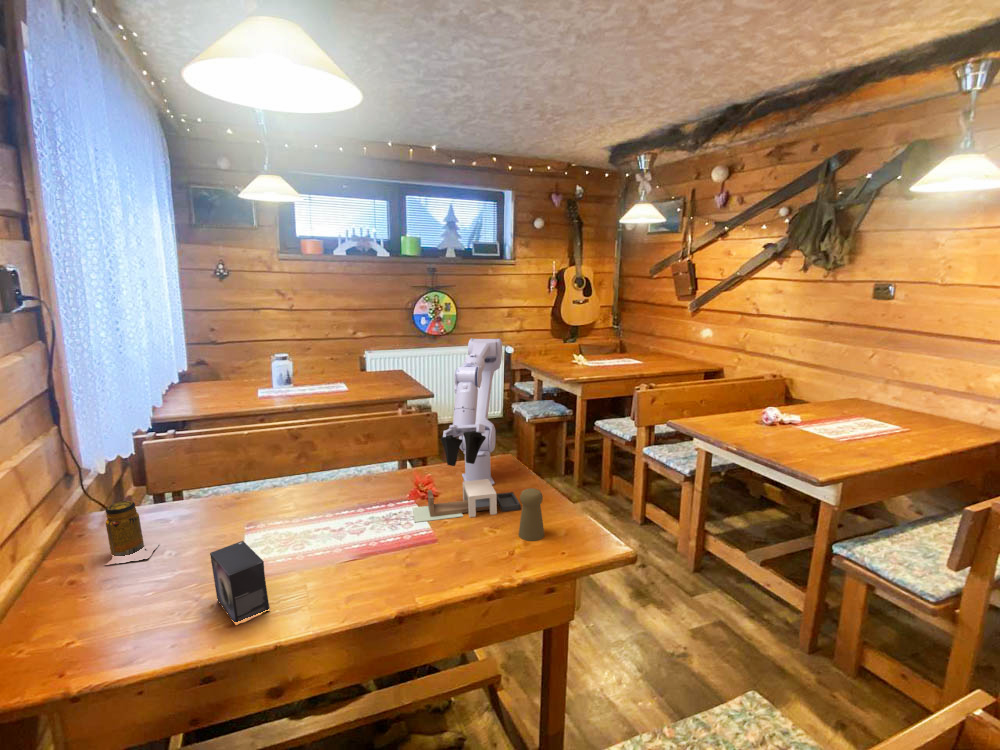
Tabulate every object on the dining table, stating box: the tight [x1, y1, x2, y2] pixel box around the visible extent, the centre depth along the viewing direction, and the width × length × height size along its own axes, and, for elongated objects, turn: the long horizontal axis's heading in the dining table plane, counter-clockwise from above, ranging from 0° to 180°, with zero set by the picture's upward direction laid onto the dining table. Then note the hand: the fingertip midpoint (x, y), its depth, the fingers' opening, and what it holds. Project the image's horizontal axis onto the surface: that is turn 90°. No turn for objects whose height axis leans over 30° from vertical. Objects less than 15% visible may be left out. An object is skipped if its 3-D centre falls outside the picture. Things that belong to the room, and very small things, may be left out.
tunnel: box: [462, 479, 498, 518], centre depth 139 cm, size 10×7×6 cm
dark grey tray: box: [496, 491, 522, 513], centre depth 141 cm, size 8×5×1 cm, turn 13°
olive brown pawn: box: [518, 487, 545, 542], centre depth 124 cm, size 6×6×11 cm
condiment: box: [105, 500, 145, 556], centre depth 118 cm, size 7×8×12 cm
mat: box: [412, 505, 464, 523], centre depth 137 cm, size 8×12×1 cm, turn 103°
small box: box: [209, 540, 271, 622], centre depth 100 cm, size 11×6×10 cm, turn 45°
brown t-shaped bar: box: [427, 489, 490, 517], centre depth 138 cm, size 5×17×5 cm, turn 103°
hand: (460, 464), depth 133 cm, fingers open, 7 cm apart
